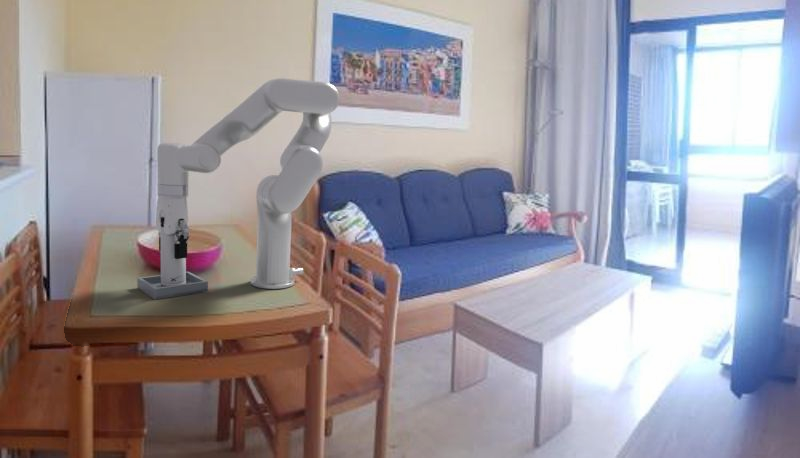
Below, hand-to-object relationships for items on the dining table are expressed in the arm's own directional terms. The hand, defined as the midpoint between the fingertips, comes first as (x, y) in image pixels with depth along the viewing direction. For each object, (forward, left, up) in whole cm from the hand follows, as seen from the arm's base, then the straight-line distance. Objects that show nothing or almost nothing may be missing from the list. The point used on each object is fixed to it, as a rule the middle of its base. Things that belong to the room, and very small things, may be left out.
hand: (172, 254), depth 150 cm
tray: (0, 0, -10) cm, 10 cm away
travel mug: (0, 0, -9) cm, 9 cm away
